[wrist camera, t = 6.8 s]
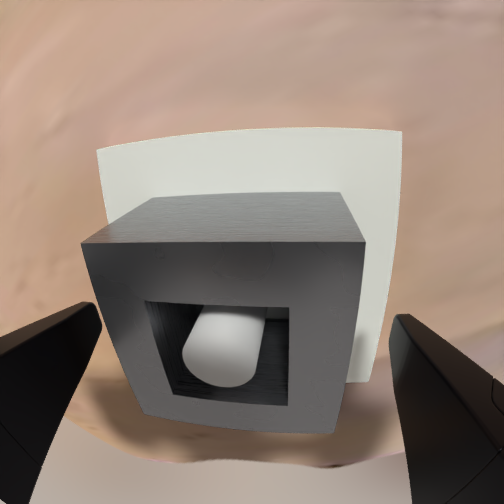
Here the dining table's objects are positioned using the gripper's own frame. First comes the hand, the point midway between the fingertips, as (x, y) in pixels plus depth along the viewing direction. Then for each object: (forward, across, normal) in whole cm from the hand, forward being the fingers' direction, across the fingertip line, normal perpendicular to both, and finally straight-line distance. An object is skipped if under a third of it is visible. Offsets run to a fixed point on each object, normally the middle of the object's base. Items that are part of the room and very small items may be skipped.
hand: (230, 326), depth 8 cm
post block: (+4, 0, 0) cm, 4 cm away
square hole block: (+3, 0, 0) cm, 3 cm away
